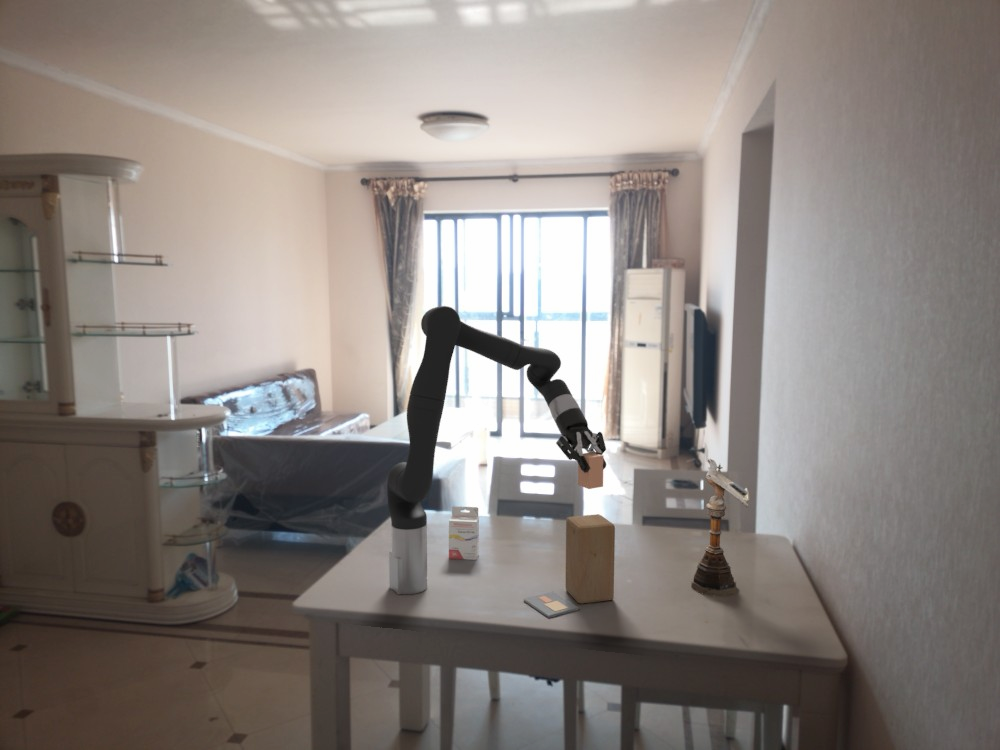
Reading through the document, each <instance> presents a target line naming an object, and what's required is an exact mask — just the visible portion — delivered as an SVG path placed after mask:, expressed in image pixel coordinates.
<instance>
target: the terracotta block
mask: <svg viewBox="0 0 1000 750" xmlns="http://www.w3.org/2000/svg"><path fill="white" fill-rule="evenodd" d="M583 456H584V457H585V459H586V461H587V463H588V465H589V466H590V470H589V471H588V472H586V473H584V471H582V470H581V468H580V466H579V464H577V465H578V467H577V485H578V486H580V487H582V488H586V489H588V490H590V489H591V490H592V489H596V488H602V487H604V470H603V458H604V455H603V454H602V455H600V454H596V453H593V452H591V453H588V452H585V453H584V452H583Z"/></svg>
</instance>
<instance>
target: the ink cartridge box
mask: <svg viewBox="0 0 1000 750" xmlns="http://www.w3.org/2000/svg"><path fill="white" fill-rule="evenodd" d="M463 511H469V512H463ZM479 536H480V517H479V508H478V507H477V506H456V505H455V506H451V517H450V519H449V520H448V559H453V560H454V559H455V560H469V561H470V560H471V561H472V560H474V561H477V560H478V558H479V557H478V556H479V552H480V551H479V549H480V547H479V545H480V544H479V542H480V541H479V540H480V537H479Z"/></svg>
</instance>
